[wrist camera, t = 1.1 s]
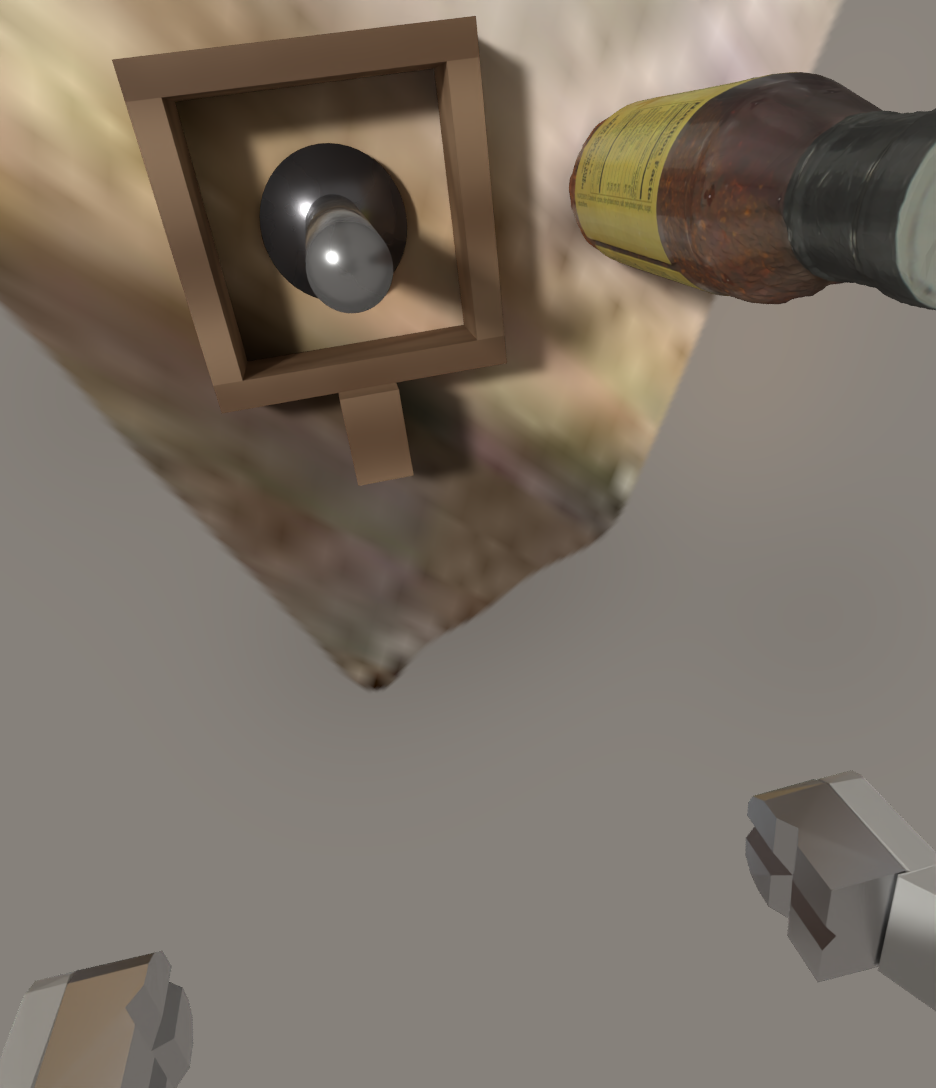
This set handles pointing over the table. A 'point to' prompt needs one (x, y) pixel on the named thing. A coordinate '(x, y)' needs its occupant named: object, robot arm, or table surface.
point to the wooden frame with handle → (238, 383)
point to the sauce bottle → (765, 190)
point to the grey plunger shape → (334, 225)
